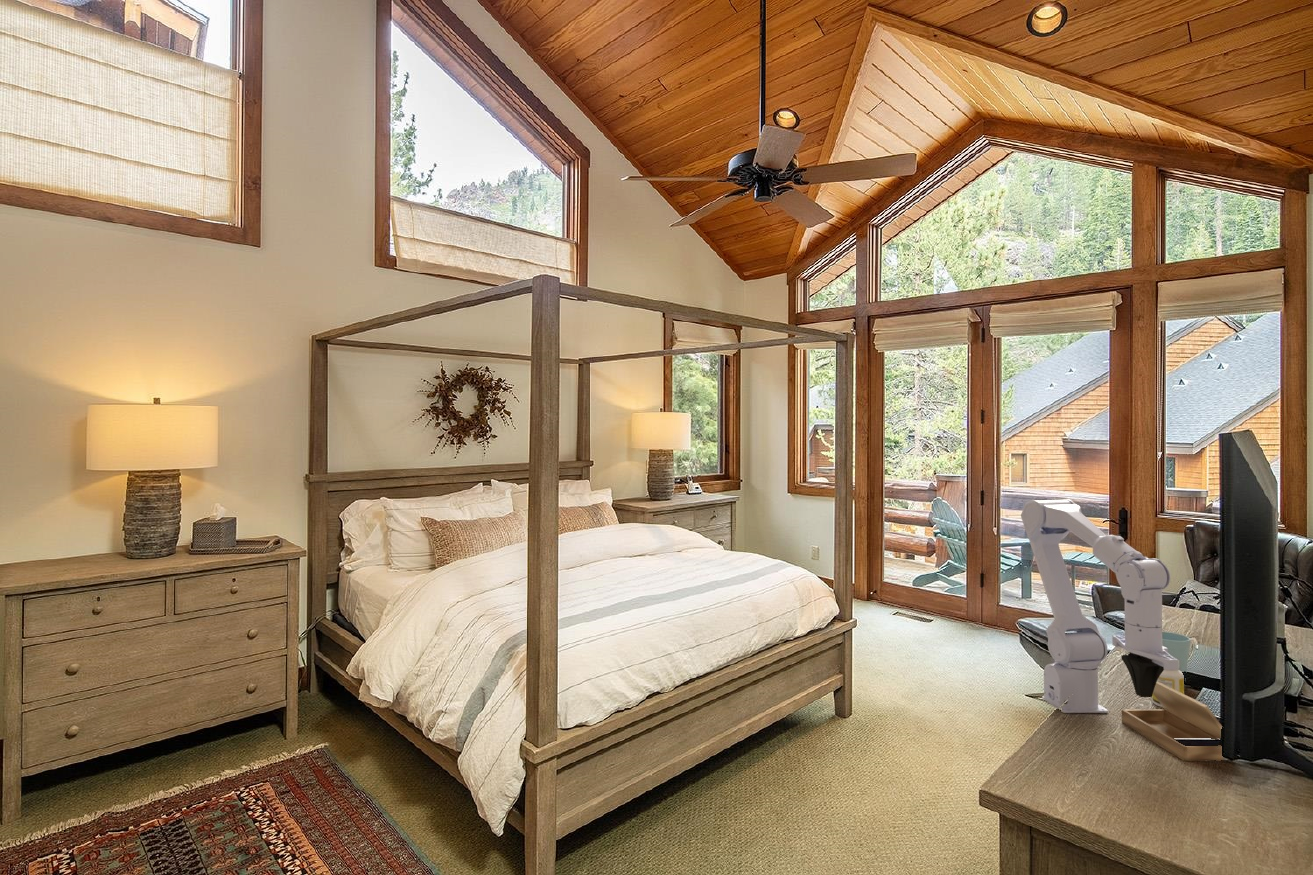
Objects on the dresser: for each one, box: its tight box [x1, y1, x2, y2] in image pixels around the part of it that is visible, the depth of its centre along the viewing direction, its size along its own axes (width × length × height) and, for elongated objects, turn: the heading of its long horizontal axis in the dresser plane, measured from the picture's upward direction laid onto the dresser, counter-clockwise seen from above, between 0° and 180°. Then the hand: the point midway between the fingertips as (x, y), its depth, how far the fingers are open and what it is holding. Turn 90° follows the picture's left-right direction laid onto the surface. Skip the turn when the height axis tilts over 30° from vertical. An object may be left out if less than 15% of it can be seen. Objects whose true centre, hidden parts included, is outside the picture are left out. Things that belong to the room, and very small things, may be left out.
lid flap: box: [1153, 681, 1223, 739], centre depth 125 cm, size 8×16×1 cm
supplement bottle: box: [1151, 661, 1185, 709], centre depth 140 cm, size 5×5×10 cm
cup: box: [1162, 631, 1192, 672], centre depth 154 cm, size 8×8×10 cm
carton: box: [1121, 708, 1224, 762], centre depth 125 cm, size 8×16×2 cm, turn 179°
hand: (1144, 695), depth 125 cm, fingers closed
